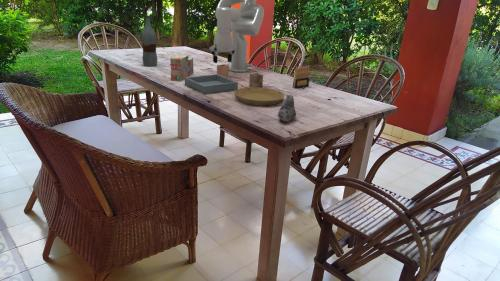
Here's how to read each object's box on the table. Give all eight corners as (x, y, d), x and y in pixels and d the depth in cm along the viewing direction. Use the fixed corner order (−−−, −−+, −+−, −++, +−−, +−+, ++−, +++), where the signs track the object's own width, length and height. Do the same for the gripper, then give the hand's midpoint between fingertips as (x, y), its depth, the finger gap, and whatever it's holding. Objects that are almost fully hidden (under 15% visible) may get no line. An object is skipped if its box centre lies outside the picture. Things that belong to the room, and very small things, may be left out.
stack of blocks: (183, 72, 223) (183, 51, 219) (193, 73, 222) (193, 52, 218) (170, 80, 204) (170, 57, 199) (181, 81, 203) (181, 58, 198)
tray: (216, 81, 207) (216, 74, 205) (237, 89, 192) (238, 82, 191) (184, 85, 195) (184, 77, 194) (204, 94, 181) (204, 86, 179)
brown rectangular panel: (294, 88, 201) (297, 66, 196) (292, 87, 202) (294, 65, 198) (308, 86, 207) (311, 65, 202) (306, 85, 208) (308, 64, 204)
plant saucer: (255, 90, 194) (255, 84, 193) (293, 100, 180) (294, 94, 179) (223, 99, 176) (223, 92, 175) (263, 111, 163) (264, 103, 161)
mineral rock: (283, 125, 147) (285, 101, 143) (264, 118, 154) (265, 94, 150) (304, 119, 155) (306, 96, 151) (284, 112, 162) (287, 90, 158)
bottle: (140, 64, 236) (137, 15, 224) (153, 63, 242) (150, 15, 230) (147, 67, 230) (144, 16, 218) (160, 66, 235) (158, 16, 224)
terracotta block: (223, 76, 219) (224, 64, 216) (228, 78, 215) (229, 65, 213) (216, 77, 216) (217, 64, 213) (221, 79, 212) (221, 66, 210)
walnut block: (256, 85, 203) (257, 72, 200) (262, 87, 199) (263, 74, 196) (249, 86, 200) (249, 73, 197) (255, 88, 196) (255, 75, 193)
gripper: (232, 30, 213) (231, 60, 219) (206, 30, 203) (205, 62, 209) (240, 32, 208) (238, 62, 214) (214, 31, 198) (213, 64, 204)
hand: (222, 62), depth 211 cm, fingers open, 9 cm apart
